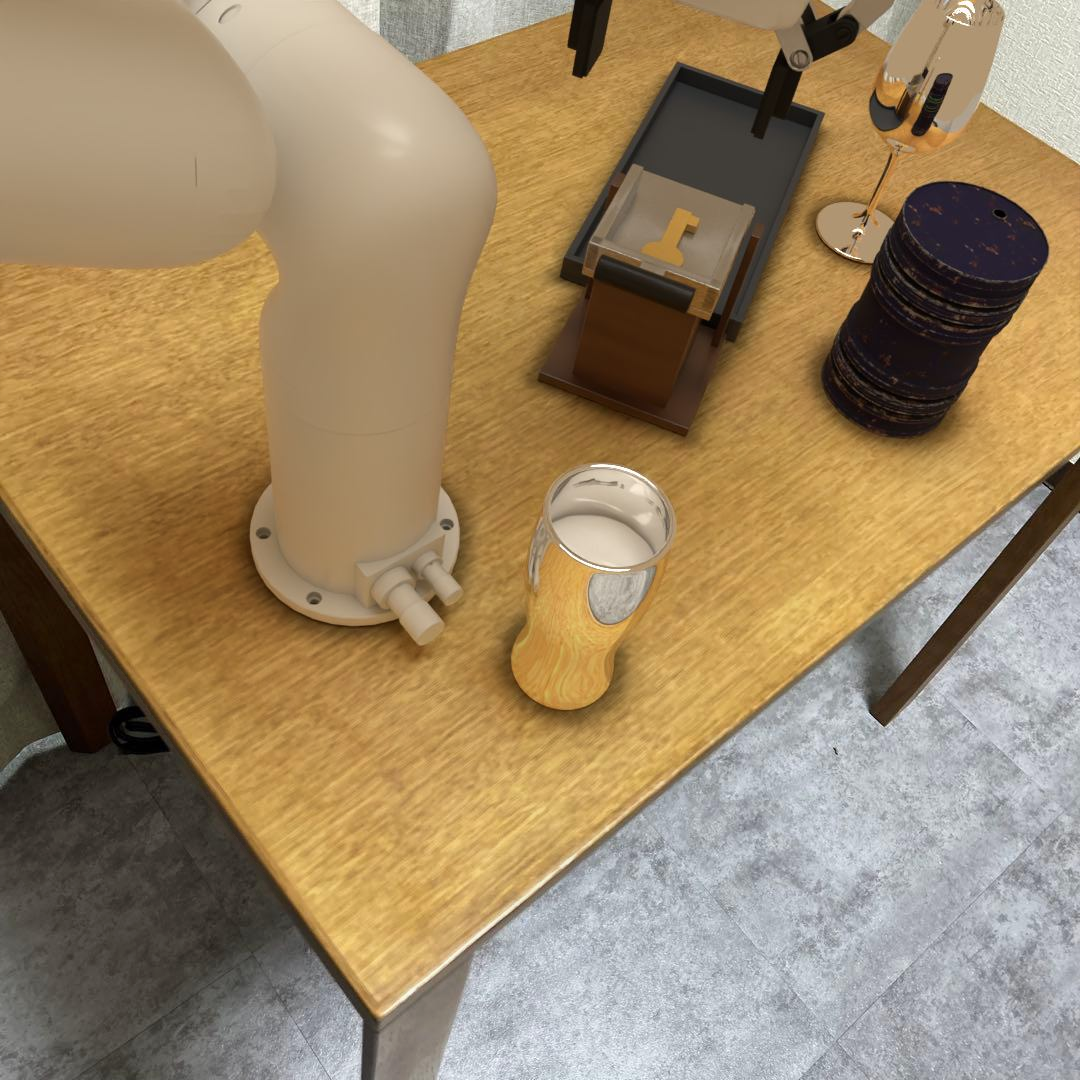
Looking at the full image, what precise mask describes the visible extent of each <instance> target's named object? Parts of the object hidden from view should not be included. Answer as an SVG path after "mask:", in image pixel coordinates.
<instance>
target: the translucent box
mask: <svg viewBox="0 0 1080 1080" xmlns="http://www.w3.org/2000/svg"><path fill="white" fill-rule="evenodd" d="M643 169H644V167H642V166H639V165H636V164H633V165H632V166H631V168H630V170H629V172H628V173H627V175H626V177H625V179H624V180H623V182H622V184H621V186H620V188H619V189H618V191H617V193H616V195H615V196H614V198H613V200H612V202H611V204H610V205H609V207H608V209H607V211H606V212H605V214H604V216H603V218H602V220H601V221H600V223H599V225H598V227H597V228H596V230H595V232H594V234H593V235H592V237H591V239H590V241H589V243H588V247H587V252H586V256H585V261H584V265H583V270H582V274H584V275H586V276H589V277H592V278H593V279H594V280H596V281H598V282H601V283H604V284H607V285H609V286H612V287H615V288H617V289H620V290H623V291H625V292H628V293H631V294H634V295H636V296H639V297H642V298H644V299H647V300H650V301H652V302H655V303H658V304H660V305H663V306H666V307H669V308H671V309H674V310H677V311H679V312H682V313H685V314H686V313H689V314H692V315H694V316H697V317H700V318H702V319H705V320H708V321H709V320H710V317H711V315H712V313H713V310H714V308H715V306H716V303H717V301H718V299H719V296H720V294H721V292H722V289H723V287H724V284H725V282H726V280H727V277H728V275H729V273H730V270H731V268H732V266H733V263H734V261H735V259H736V256H737V254H738V251H739V249H740V247H741V244H742V242H743V240H744V237H745V235H746V233H747V230H748V228H749V226H750V223H751V221H752V218H753V216H754V213H755V207H753V206H751V205H748V204H744V205H743V206H742V205H739V204H737V203H734V202H731V201H728V200H726V199H723V198H720V197H717V196H714V195H712V194H709V193H706V192H703V191H700V190H698V189H695V188H692V187H689V186H687V185H684V184H681V183H678V182H675V181H673V180H670V179H667V178H664V177H661V176H659V175H656V174H653V173H650V172H648V171H645V170H643ZM677 208H681V209H683V210H686V211H689V212H692V216H695V217H697V218H700V222H699V225H698V227H697V230H696V232H695V233H691V232H688V231H686V230H685V232H684V234H683V236H682V238H681V240H680V242H679V244H678V246H677V248H678V249H679V250H680V252H681V253H682V255H683V258H684V262H683V265H682V267H680V266H677V265H674V264H671V263H669V262H666V261H663V260H661V259H658V258H655V257H652V256H650V255H647V254H644V253H641V249H642V248H643V247H644V246H645V245H646V244H648V243H650V242H655V241H661V239H662V237H663V235H664V233H665V231H666V229H667V227H668V225H669V223H670V221H671V219H672V217H673V215H674V213H675V211H676V209H677Z"/></svg>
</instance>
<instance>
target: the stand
mask: <svg viewBox="0 0 1080 1080" xmlns="http://www.w3.org/2000/svg"><path fill="white" fill-rule="evenodd" d="M625 176H626V175H625V174H623V173H620V172H618V173H617V174H616V176H615V178H614V180H613V181H612V183H611V185H610V190H609V194H608V198H607V202H606V207H605V211H604V214H605V212H606V211H607V209H608V207H609V205H610V204H611V202H612V200H613V198H614V196H615V195H616V193H617V191H618V189H619V188H620V186H621V184H622V182H623V180H624V179H625ZM603 216H604V215H603ZM764 227H765V225H764V224H762V223H759V222H757V223H756V225H755V228H754V230H753V233H752V235H751V238H750V240H749V243H748V246H747V248H746V251H745V254H744V256H743V259H742V262H741V264H740V267H739V270H738V272H737V275H736V278H735V280H734V283H733V286H732V288H731V291H730V294H729V296H728V299H727V302H726V304H725V307H724V310H723V312H722V315H721V318H720V320H719V323H718V326H717V328H716V330H715V329H712V328H709V327H707V326H704V325H701V321H702V318H700V317H697V316H694V315H692V314H689V313H686V314H685V313H682V312H679V311H677V310H674V309H671V308H669V307H666V306H663V305H660V304H658V303H655V302H652V301H650V300H647V299H644V298H642V297H639V296H636V295H634V294H631V293H628V292H625V291H623V290H620V289H617V288H615V287H612V286H609V285H607V284H604V283H601V282H598V281H596V280H594V279H593V278H592V277H589V279H588V284H587V286H584V287H585V288H584V289H583V290H582V293H581V294H580V296H579V298H578V301H577V302H576V304H575V306H574V308H573V310H572V312H571V313H570V315H569V317H568V318H567V321H566V322H565V324H564V326H563V328H562V330H561V332H560V333H559V335H558V337H557V339H556V341H555V342H554V344H553V346H552V348H551V350H550V352H549V354H548V355H547V357H546V359H545V361H544V363H543V365H542V366H541V368H540V370H539V373H538V378H537V379H538V381H540V382H543V383H546V384H548V385H550V386H554V387H556V388H559V389H561V390H564V391H567V392H569V393H572V394H574V395H577V396H579V397H582V398H585V399H587V400H590V401H592V402H595V403H598V404H600V405H603V406H606V407H608V408H611V409H613V410H617V411H619V412H622V413H624V414H627V415H629V416H632V417H634V418H637V419H640V420H642V421H646V422H648V423H650V424H653V425H655V426H658V427H660V428H663V429H667V430H668V431H671V432H674V433H677V434H679V435H682V436H684V437H687V436H688V434H689V431H690V429H691V426H692V425H693V422H694V420H695V417H696V414H697V412H698V409H699V407H700V404H701V402H702V400H703V397H704V395H705V392H706V389H707V387H708V385H709V382H710V379H711V377H712V374H713V372H714V370H715V367H716V365H717V363H718V360H719V357H720V355H721V352H722V350H723V347H724V345H725V342H726V340H727V339H726V338H727V334H725V333H724V331H725V329H726V326H727V324H728V321H729V318H730V316H731V313H732V311H733V308H734V305H735V303H736V300H737V298H738V295H739V292H740V290H741V287H742V285H743V282H744V279H745V277H746V274H747V272H748V269H749V266H750V264H751V261H752V259H753V256H754V253H755V251H756V248H757V246H758V243H759V240H760V238H761V235H762V233H763V230H764Z"/></svg>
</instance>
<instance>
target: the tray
mask: <svg viewBox="0 0 1080 1080" xmlns="http://www.w3.org/2000/svg"><path fill="white" fill-rule="evenodd" d="M764 91H765V90H761V89H758V88H755V87H753V86H749V85H748V84H744V83H741V82H738V81H736V80H732V79H729V78H727V77H724V76H720V75H717V74H715V73H712V72H709V71H707V70H703V69H700V68H699V67H695V66H692V65H690V64H686V63H683V62H680V61H676V62H675V64H674V65H673V67H672V69H671V71H670V73H669V74H668V76H667V77H666V79H665V81H664V83H663V85H662V87H661V88H660V90H659V92H658V94H657V95H656V97H655V98H654V100H653V101H652V103H651V105H650V107H649V109H648V111H647V113H645V116H644V118H643V119H642V121H641V123H640V124H639V126H638V128H637V130H636V132H635V133H634V135H633V137H632V138H631V140H630V142H629V143H628V145H627V147H626V149H625V150H624V152H623V154H622V155H621V157H620V159H619V161H618V162H617V164H616V165H615V168H614V169H613V171H612V173H611V175H610V177H609V178H608V180H607V182H606V184H605V185H604V187H603V188H602V190H601V192H600V194H599V196H598V197H597V199H596V201H595V203H594V204H593V206H592V208H591V209H590V211H589V213H588V214H587V216H586V218H585V219H584V222H583V223H582V225H581V227H580V229H579V230H578V232H577V234H576V235H575V237H574V239H573V240H572V242H571V244H570V246H569V247H568V249H567V251H566V253H565V254H564V256H563V260H562V265H561V270H560V274H559V277H560V278H562V279H565V280H568V281H570V282H572V283H576V284H578V285H581V286H584V287H586V286H587V284H588V279H589V276H586V275H584V274H582V270H583V265H584V261H585V256H586V252H587V247H588V243H589V241H590V239H591V237H592V235H593V234H594V232H595V230H596V228H597V227H598V225H599V223H600V221H601V220H602V218H603V215H604V211H605V207H606V202H607V198H608V194H609V190H610V185H611V183H612V181H613V180H614V178H615V176H616V174H617V173H618V172H620V173H623V174H625V175H627V173H628V172H629V170H630V168H631V166H632V165H633V164H636V165H639V166H642V167H644V169H643V170H645V171H648V172H650V173H653V174H656V175H659V176H661V177H664V178H667V179H670V180H673V181H675V182H678V183H681V184H684V185H687V186H689V187H692V188H695V189H698V190H700V191H703V192H706V193H709V194H712V195H714V196H717V197H720V198H723V199H726V200H728V201H731V202H734V203H737V204H739V205H742V206H743V205H744V204H748V205H751V206H753V207H755V213H754V216H753V218H752V221H751V223H750V226H749V228H748V230H747V233H746V235H745V237H744V240H743V242H742V244H741V247H740V249H739V251H738V254H737V256H736V259H735V261H734V263H733V266H732V268H731V270H730V273H729V275H728V277H727V280H726V282H725V284H724V287H723V289H722V292H721V294H720V296H719V299H718V301H717V303H716V306H715V308H714V310H713V313H712V315H711V317H710V320H709V321H708V320H705V319H702V321H701V325H704V326H707V327H709V328H712V329H715V330H716V328H717V326H718V323H719V320H720V318H721V315H722V312H723V310H724V307H725V304H726V302H727V299H728V296H729V294H730V291H731V288H732V286H733V283H734V280H735V278H736V275H737V272H738V270H739V267H740V264H741V262H742V259H743V256H744V254H745V251H746V248H747V246H748V243H749V240H750V238H751V235H752V233H753V230H754V228H755V225H756V223H757V222H759V223H762V224H764V225H765V227H764V230H763V233H762V235H761V238H760V240H759V243H758V246H757V248H756V251H755V253H754V256H753V259H752V261H751V264H750V266H749V269H748V272H747V274H746V277H745V279H744V282H743V285H742V287H741V290H740V292H739V295H738V298H737V300H736V303H735V305H734V308H733V311H732V313H731V316H730V318H729V321H728V324H727V326H726V329H725V331H724V333H725V334H727V338H726V340H728V341H730V342H731V341H732V342H733V343H735V342H736V341H737V338H738V335H739V333H740V330H741V328H742V325H743V323H744V320H745V318H746V315H747V313H748V310H749V307H750V305H751V303H752V300H753V297H754V295H755V292H756V290H757V287H758V285H759V282H760V280H761V277H762V275H763V272H764V270H765V267H766V265H767V262H768V260H769V257H770V254H771V252H772V249H773V247H774V245H775V242H776V240H777V237H778V234H779V232H780V229H781V227H782V224H783V222H784V219H785V217H786V214H787V211H788V209H789V207H790V204H791V201H792V198H793V196H794V194H795V192H796V189H797V186H798V184H799V182H800V179H801V176H802V174H803V172H804V169H805V166H806V163H807V162H808V159H809V156H810V154H811V151H812V149H813V146H814V144H815V141H816V139H817V136H818V133H819V131H820V128H821V126H822V123H823V121H824V118H825V116H826V112H824V111H821V110H819V109H816V108H812V107H810V106H807V105H804V104H802V103H798V102H795V101H794V100H792V103H791V106H790V108H789V111H788V113H787V116H786V119H785V121H784V120H781V119H778V118H775V117H772V118H771V121H770V123H769V126H768V128H767V130H766V133H765V135H764V138H763V140H761V139H758V138H755V137H753V135H754V134H752V133H750V132H751V129H752V126H753V123H754V120H755V117H756V114H757V111H758V109H759V106H760V103H761V100H762V97H763V94H764ZM625 177H626V176H625Z"/></svg>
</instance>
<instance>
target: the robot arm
mask: <svg viewBox="0 0 1080 1080" xmlns="http://www.w3.org/2000/svg"><path fill="white" fill-rule="evenodd" d="M669 1H670V2H673V3H676V4H679V5H682V6H685V7H689V8H691V9H694V10H698V11H700V12H703V13H706V14H710V15H713V16H716V17H719V18H721V19H724V20H725V19H726V20H729V21H731V22H735V23H738V24H741V25H745V26H747V27H751V28H755V29H758V30H759V29H760V30H765V31H774V33H775V35H776V37H777V40H778V43H779V46H780V48H779V51H778V53H777V56H776V58H775V60H774V63H773V65H772V68H771V71H770V73H769V76H768V79H767V82H766V86H765V88H764V90H763V91H764V94H763V97H762V100H761V103H760V106H759V109H758V111H757V114H756V117H755V120H754V123H753V126H752V129H751V132H750V133H752V134H754V135H753V137H755V138H758V139H761V140H763V138H764V135H765V133H766V130H767V128H768V126H769V123H770V121H771V118H772V117H775V118H778V119H781V120H784V121H785V119H786V116H787V113H788V111H789V108H790V106H791V103H792V101H794V97H795V94H796V91H797V89H798V86H799V83H800V81H801V78H802V75H803V72H805V71H807V70H809V68H810V67H811V66H812V64H813V63H814V62H817V61H819V60H820V59H824V58H825V57H827V56H830V55H832V54H834V53H836V52H838V51H840V50H842V49H845V48H846V47H848V46H850V45H852V44H853V43H854V42H855V41H856V39H857V37H858V36H860V35H861V34H862V33H863V32H864V31H865V30H868V29H869V28H870V27H871V26H872V25H873V24H874V23H876V22H877V20H879V19H880V18H881V17H882V16H883V15H884V14H885V13H886V12H888V11H889V10H890V9H891V8H892V6H894V4H895V1H896V0H851V1H850V2H849V3H848V4H846V5H844V6H842V7H840V8H838V9H836V10H834V11H832V12H830V13H828V14H826V15H823V16H821V17H819V14H818V11H817V8H816V5H815V4H814V1H813V0H669ZM612 5H613V0H574V2H573V8H572V14H571V19H570V26H569V31H568V37H567V44H566V46H567V49H570V50H573V51H575V55H574V60H573V66H572V71H571V76H572V77H574V78H575V77H576V78H578V79H583V78H587V77H588V75H589V74H590V72H591V71H592V69H593V68H594V66H595V64H596V63H597V61H598V59H599V57H600V56H601V54H602V52H603V50H604V46H605V40H606V37H607V36H606V35H607V30H608V26H609V21H610V15H611V10H612ZM497 205H498V181H497V175H496V170H495V167H494V163H493V159H492V158H491V154H490V151H488V147H487V146H486V143H485V142H484V140H483V138H482V136H481V135H480V133H479V132H478V131H477V129H476V128H475V126H474V124H473V123H472V122H471V120H470V119H469V117H467V115H466V113H464V112H463V110H462V109H461V108H460V107H459V106H458V105H457V103H456V102H455V101H454V100H453V99H452V98H451V97H450V96H449V95H448V94H447V93H446V91H444V90H443V89H442V88H441V87H440V86H439V85H438V84H437V83H436V82H435V81H434V80H432V79H431V78H430V77H429V76H428V75H427V74H426V73H424V72H423V71H422V70H421V69H420V68H418V67H417V66H416V64H414V63H413V62H412V61H410V60H409V58H407V57H406V56H405V55H404V54H403V53H402V52H400V51H399V50H398V49H397V48H396V47H395V46H394V45H392V44H391V43H390V42H389V41H387V40H386V39H385V38H384V37H383V36H382V35H380V33H378V32H376V31H374V30H372V29H371V28H370V27H368V25H366V24H365V23H364V22H363V21H362V20H361V19H360V18H358V17H357V16H356V15H355V14H354V13H352V11H350V10H349V9H348V8H347V7H346V6H345V5H344V4H343V3H341V2H340V1H339V0H0V265H20V266H40V267H57V268H58V267H60V268H78V269H79V268H80V269H99V270H121V271H146V270H147V271H148V270H169V269H181V268H187V267H191V266H195V265H196V266H197V265H200V264H203V263H205V262H206V263H207V262H208V261H211V260H214V259H217V258H219V257H221V256H223V255H226V254H228V253H230V252H231V251H233V250H234V249H236V248H238V247H239V246H240V245H242V244H243V243H244V242H245V241H247V240H248V239H249V238H250V237H251V236H252V235H253V234H254V233H255V232H256V233H257V234H258V236H259V237H260V239H261V240H262V241H263V243H264V244H265V245H266V248H267V249H268V251H269V253H270V254H271V256H272V258H273V260H274V262H275V265H276V268H277V271H278V281H277V283H276V284H275V285H274V286H273V287H272V289H271V290H270V291H269V293H268V294H267V295H266V297H265V299H264V302H263V304H262V307H261V310H260V311H261V312H260V315H259V322H258V349H259V359H260V370H261V371H260V372H261V376H262V387H263V399H264V409H265V420H266V432H267V444H268V451H269V452H268V454H269V455H268V456H269V465H270V477H271V482H270V484H269V485H268V486H267V487H266V488H265V489H264V491H263V492H262V494H261V495H260V497H259V499H258V500H257V503H256V504H255V506H254V510H253V512H252V516H251V520H250V527H249V542H250V550H251V556H252V559H253V562H254V565H255V568H256V571H257V573H258V575H259V576H260V578H261V580H262V581H263V583H264V584H265V586H266V588H268V589H269V590H270V591H271V592H272V593H273V595H274V596H275V597H276V598H277V599H278V600H280V601H281V602H282V603H284V604H285V605H286V606H287V607H289V608H291V609H292V610H294V611H295V612H298V613H300V614H302V615H304V616H306V617H308V618H310V619H312V620H316V621H319V622H323V623H327V624H331V625H338V626H349V627H360V626H375V625H379V624H384V623H387V622H388V623H389V622H391V621H395V620H399V624H400V625H401V626H402V627H403V629H404V630H405V632H406V633H408V635H409V636H410V637H411V639H413V641H414V642H415V643H416V645H418V646H420V647H421V646H426V645H428V644H429V643H431V642H433V641H434V640H436V639H437V638H438V637H439V636H440V635H441V633H442V632H443V631H444V629H445V627H446V625H445V621H443V619H442V618H441V616H440V615H438V613H437V612H436V611H435V610H434V609H433V607H432V606H431V604H430V603H429V602H430V601H431V600H432V599H433V598H434V597H435V596H437V598H438V599H439V600H440V601H441V603H443V605H444V606H445V607H450V606H452V605H454V604H455V603H457V602H458V601H459V600H460V599H461V598H462V597H463V595H464V593H465V592H464V589H463V587H462V586H461V585H460V584H459V583H458V582H457V580H456V579H455V578H454V576H452V573H453V571H454V567H455V565H456V563H457V561H458V554H459V549H460V539H461V536H460V535H461V533H460V532H461V527H460V522H459V517H458V512H457V511H456V508H455V505H454V504H453V502H452V499H451V498H450V496H449V495H448V493H447V492H446V490H445V489H444V488H443V487H442V485H441V484H442V476H443V467H444V466H443V465H444V459H445V458H444V457H445V450H446V441H447V432H448V424H449V423H448V422H449V414H450V405H451V397H452V388H453V378H454V372H455V371H454V368H455V367H454V366H455V357H456V352H457V351H456V349H457V342H458V336H459V329H460V323H461V319H462V313H463V308H464V305H465V304H464V303H465V300H466V297H467V294H468V290H469V286H470V284H471V281H472V279H473V276H474V273H475V270H476V268H477V265H478V263H479V260H480V258H481V255H482V253H483V251H484V248H485V246H486V244H487V241H488V238H489V235H490V232H491V229H492V227H493V224H494V219H495V215H496V211H497Z"/></svg>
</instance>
